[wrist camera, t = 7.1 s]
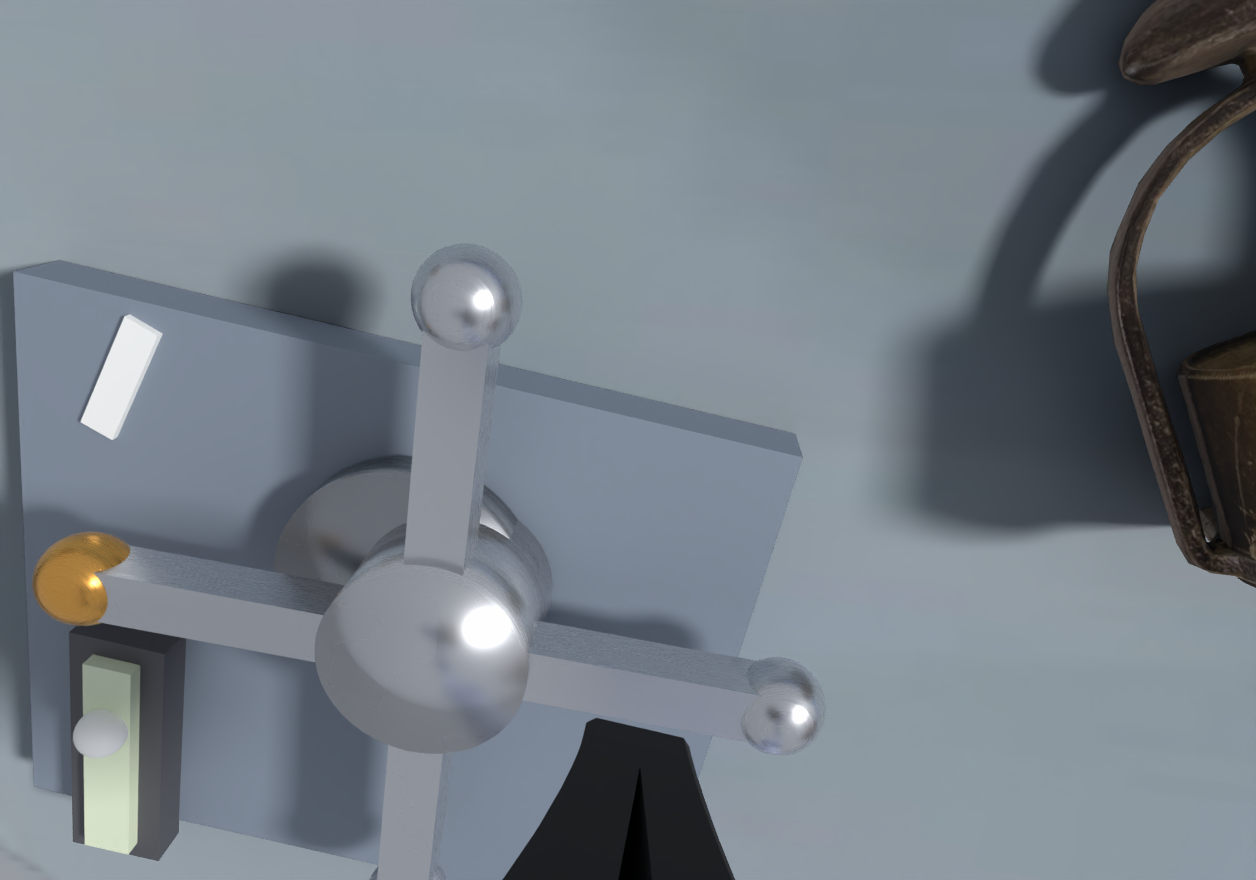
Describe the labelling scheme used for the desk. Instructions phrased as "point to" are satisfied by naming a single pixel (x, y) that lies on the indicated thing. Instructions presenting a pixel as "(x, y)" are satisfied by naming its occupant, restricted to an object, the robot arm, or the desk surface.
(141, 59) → the desk surface
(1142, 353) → the brown looped piece
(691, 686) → the capstan
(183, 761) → the grey panel with crank
